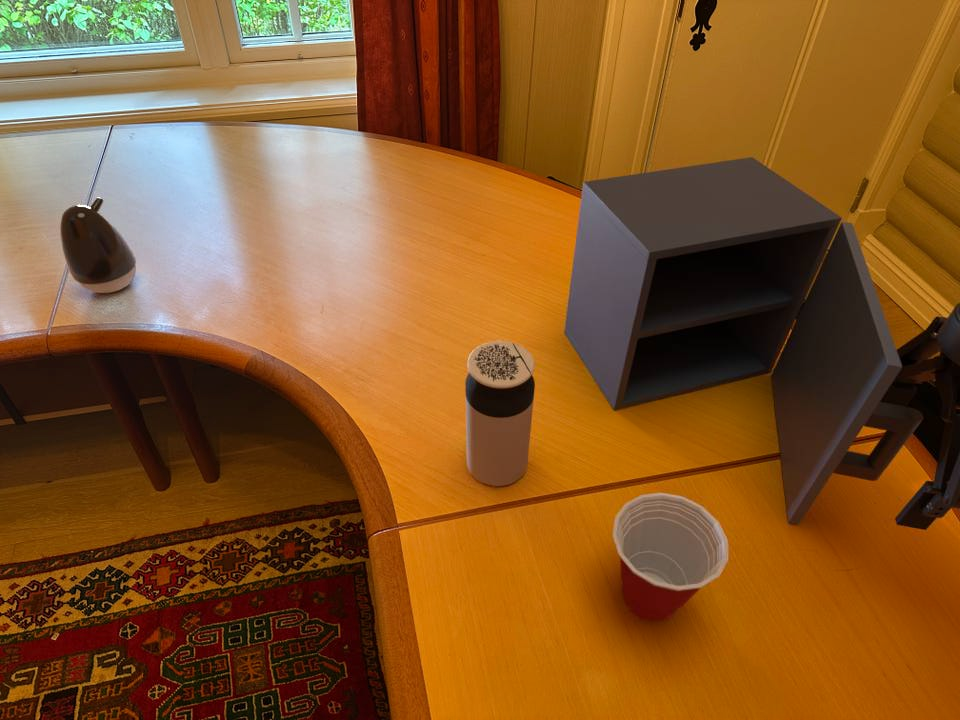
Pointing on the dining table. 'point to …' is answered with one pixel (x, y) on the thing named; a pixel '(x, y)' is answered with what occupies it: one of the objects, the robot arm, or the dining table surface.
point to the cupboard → (690, 276)
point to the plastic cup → (666, 552)
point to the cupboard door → (837, 381)
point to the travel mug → (499, 411)
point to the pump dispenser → (95, 249)
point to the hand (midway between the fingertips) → (891, 471)
